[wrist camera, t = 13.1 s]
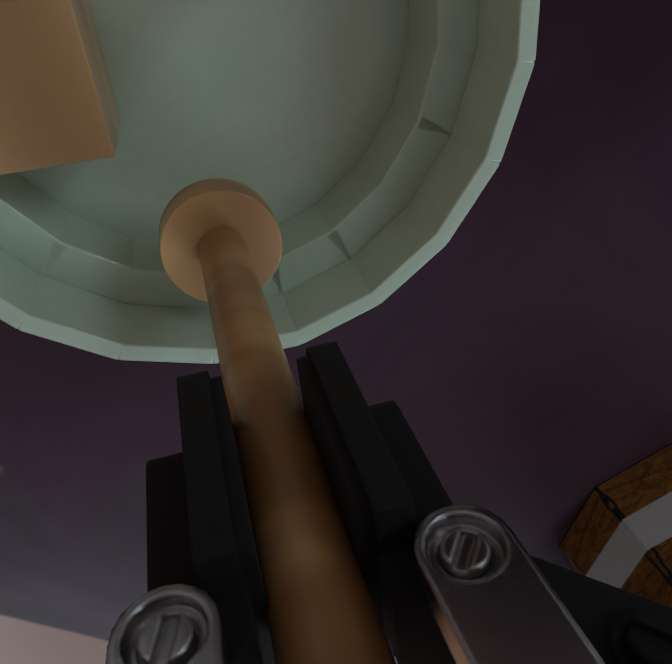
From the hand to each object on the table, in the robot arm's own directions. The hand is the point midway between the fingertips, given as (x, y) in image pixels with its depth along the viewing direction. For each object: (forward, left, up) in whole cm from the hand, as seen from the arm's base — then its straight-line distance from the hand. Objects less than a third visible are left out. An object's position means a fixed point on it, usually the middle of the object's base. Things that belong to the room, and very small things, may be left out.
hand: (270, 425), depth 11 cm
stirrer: (0, 0, -10) cm, 10 cm away
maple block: (-4, +5, -13) cm, 15 cm away
